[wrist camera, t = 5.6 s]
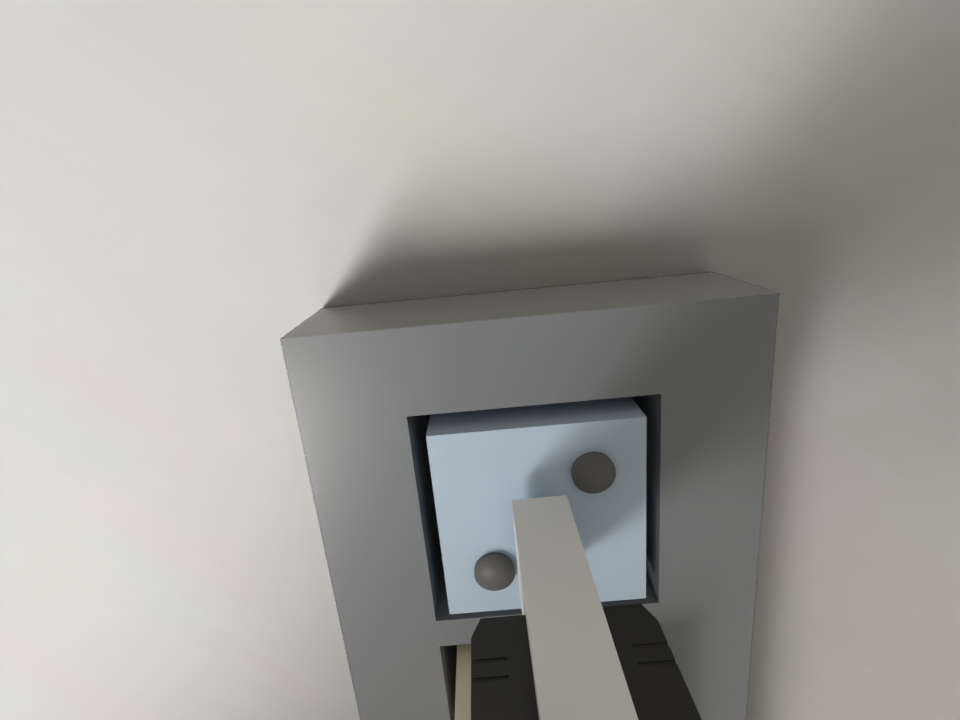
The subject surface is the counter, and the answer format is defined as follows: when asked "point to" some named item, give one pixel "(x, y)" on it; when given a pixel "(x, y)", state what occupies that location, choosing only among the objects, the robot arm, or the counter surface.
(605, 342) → the grey counting block tray
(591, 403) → the light blue block
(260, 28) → the counter surface
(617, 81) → the counter surface
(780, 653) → the counter surface
